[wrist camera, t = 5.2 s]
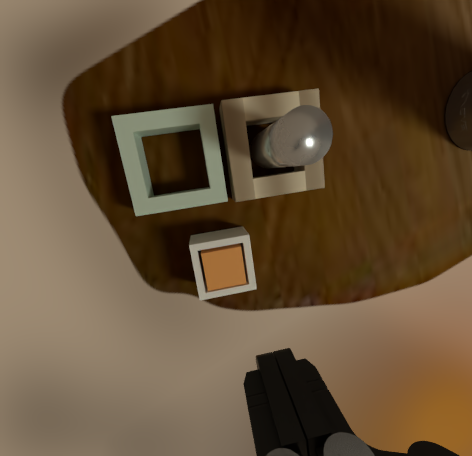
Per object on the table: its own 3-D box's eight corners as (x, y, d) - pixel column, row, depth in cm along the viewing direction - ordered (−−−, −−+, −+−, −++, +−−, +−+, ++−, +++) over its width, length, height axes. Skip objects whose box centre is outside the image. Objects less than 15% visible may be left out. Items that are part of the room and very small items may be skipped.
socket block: (305, 98, 26) (318, 88, 23) (312, 186, 28) (324, 187, 25) (219, 108, 25) (221, 100, 22) (232, 198, 27) (236, 201, 25)
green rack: (211, 111, 25) (212, 103, 22) (225, 198, 27) (227, 201, 24) (122, 123, 24) (110, 116, 21) (143, 211, 26) (135, 216, 23)
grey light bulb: (283, 128, 27) (330, 101, 17) (287, 165, 27) (334, 161, 18) (247, 132, 26) (275, 108, 16) (252, 170, 27) (281, 169, 17)
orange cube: (236, 237, 28) (241, 246, 24) (241, 270, 29) (246, 283, 25) (201, 243, 27) (201, 253, 24) (207, 276, 28) (208, 290, 25)
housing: (242, 226, 28) (249, 234, 24) (249, 274, 30) (256, 289, 26) (190, 235, 28) (188, 245, 24) (200, 283, 29) (200, 300, 25)
